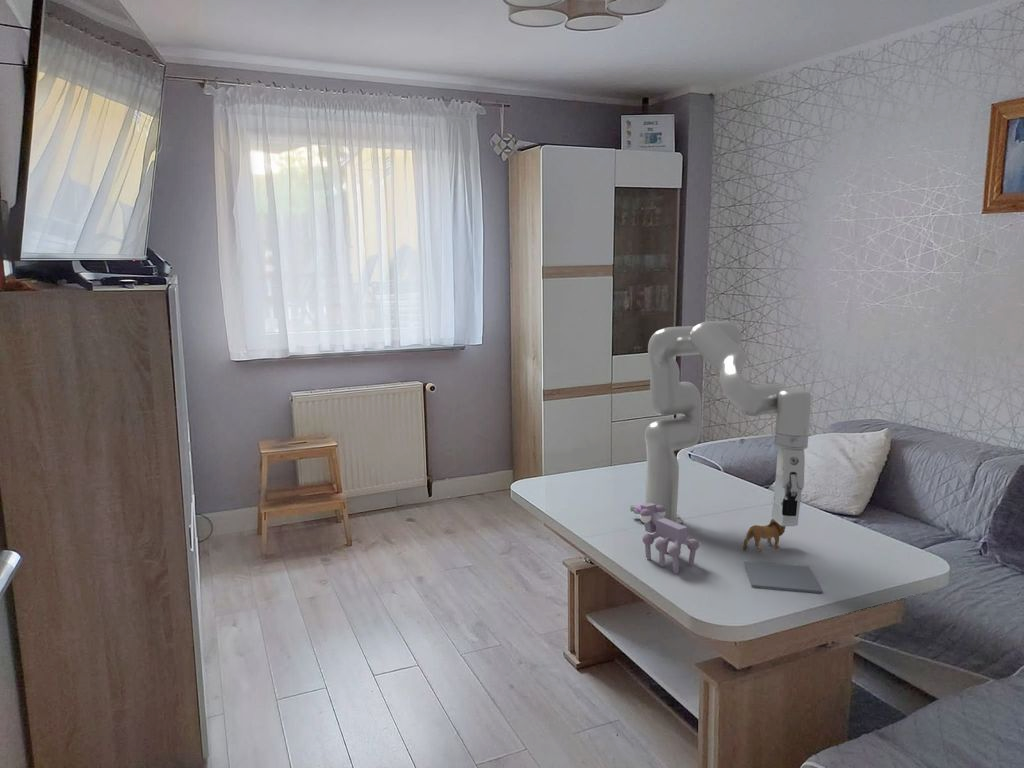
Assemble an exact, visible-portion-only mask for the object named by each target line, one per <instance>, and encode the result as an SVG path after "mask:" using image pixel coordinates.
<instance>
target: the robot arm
mask: <svg viewBox="0 0 1024 768" xmlns="http://www.w3.org/2000/svg"><path fill="white" fill-rule="evenodd" d="M741 341H742V333H741V331H740V328H739V327H738V326H737V325H736V324H735V323H734V322H732V321H729V320H711V321H710V320H708V321H703V322H700V323H698V324H696V325H690V326H689V325H686V326H680V325H679V326H669V327H664V328H661V329H658V330H656V331H655V332H654V333H653V334H652V335H651V337H650V338H649V341H648V345H647V355H648V360H649V368H650V369H649V370H650V373H649V374H650V375H649V377H650V380H649V381H650V384H649V390H650V391H649V392H650V393H649V398H650V399H649V401H650V403H649V404H650V408H651V411H652V412H653V414H655V415H658V416H672V415H673V416H674V415H676V417H674V418H664V419H659V420H656V421H652V422H651V423H649V425H647V427H646V428H645V431H644V441H645V447H646V483H645V484H646V485H645V486H646V488H645V502H644V503H643V504H646V503H653V504H656V506H657V505H662V506H664V508H665V516H664V517H663V518H666V519H668V520H671V521H673V522H676V523H678V524H681V525H682V522H683V519H682V518H683V517H682V516H680V515H679V514H678V498H679V496H678V495H679V482H680V481H679V478H680V477H679V476H680V464H679V460H678V459H677V456H676V454H675V451H679V450H683V449H688V448H692V447H694V446H696V445H697V444H698V443H699V441H700V439H701V432H702V397H701V393H700V390H699V389H698V386H696V385H695V384H694V383H692V382H689V381H680V378H681V377H680V367H679V364H678V362H677V360H676V359H675V357H683V356H699V355H701V356H702V357H703V358H704V359H705V360H706V361H707V362H708V363H709V365H711V367H713V368H714V369H715V371H717V373H718V374H719V383H720V387H721V391H722V393H723V395H724V396H725V398H726V399H727V400H728V401H729V402H730V403H731V404H732V405H733V407H735V408H736V409H737V410H738V411H739V412H740V413H742V414H744V415H746V416H748V417H758V416H765V415H775V414H776V415H775V416H776V418H775V431H774V446H776V447H778V448H777V457H776V469H775V470H776V473H778V479H779V483H780V484H781V486H782V487H783V488H784V499H783V505H782V515H784V516H796V512H797V491H798V489H797V486H798V487H799V488H800V489H802V490H803V489H804V488H805V467H806V466H805V461H806V460H805V449H808V446H809V434H810V420H811V409H812V408H811V407H812V394H811V393H810V392H809V391H808V390H805V389H800V388H791V387H790V386H787V385H784V384H781V383H767V384H766V383H764V384H756V385H751V383H749V382H748V381H747V379H745V378H744V377H743V375H741V373H740V371H741V370H742V369H743V368H744V366H745V364H746V363H747V358H748V357H747V352H746V351H745V350H743V348H742V347H740V346H739V345H740V343H741ZM776 473H775V474H776ZM789 480H790V483H789V484H790V485H791V487H787V483H788V482H789ZM797 484H798V485H797ZM788 490H790V491H789V492H788ZM637 506H638V505H633V504H630V509H629V510H630V511H629V512H633V514H635V515H640V513H639V512H638V511H637V509H636V508H635V507H637ZM639 520H640V521H641V519H640V518H639ZM642 523H643V524H644V522H642Z"/></svg>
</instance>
